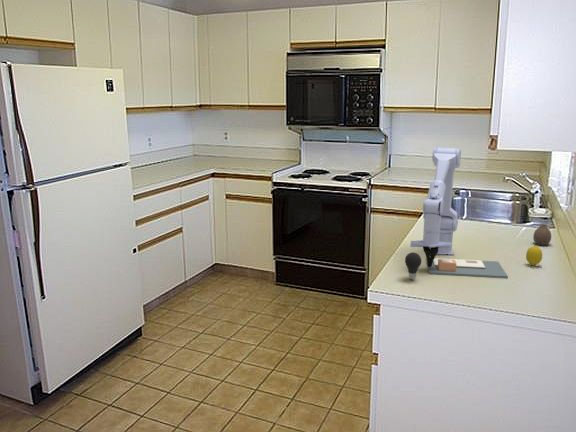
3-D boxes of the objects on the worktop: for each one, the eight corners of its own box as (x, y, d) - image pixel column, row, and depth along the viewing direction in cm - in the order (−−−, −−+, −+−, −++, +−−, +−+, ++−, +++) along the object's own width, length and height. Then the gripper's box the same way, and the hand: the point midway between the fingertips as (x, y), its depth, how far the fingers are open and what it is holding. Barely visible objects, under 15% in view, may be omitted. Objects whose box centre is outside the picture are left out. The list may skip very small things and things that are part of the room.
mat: (425, 259, 200) (426, 257, 199) (498, 263, 195) (498, 261, 194) (429, 274, 184) (429, 272, 184) (507, 278, 179) (507, 276, 179)
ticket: (432, 259, 197) (433, 257, 197) (481, 261, 194) (481, 260, 194) (434, 266, 190) (435, 264, 190) (485, 269, 187) (485, 267, 186)
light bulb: (408, 283, 176) (410, 256, 173) (401, 277, 181) (402, 251, 179) (423, 281, 177) (424, 254, 175) (415, 276, 183) (416, 249, 180)
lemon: (527, 262, 196) (529, 242, 194) (542, 265, 192) (545, 245, 190) (523, 266, 192) (525, 246, 190) (538, 269, 188) (541, 248, 186)
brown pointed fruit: (534, 246, 215) (536, 226, 213) (530, 241, 222) (533, 222, 220) (552, 247, 214) (554, 227, 211) (548, 242, 220) (550, 223, 218)
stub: (437, 266, 189) (438, 258, 188) (454, 267, 188) (455, 259, 187) (438, 270, 185) (439, 262, 185) (455, 271, 184) (456, 263, 184)
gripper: (411, 233, 182) (409, 268, 185) (453, 234, 179) (451, 270, 183) (410, 227, 189) (409, 262, 192) (451, 229, 186) (448, 264, 189)
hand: (429, 266), depth 188 cm, fingers closed
